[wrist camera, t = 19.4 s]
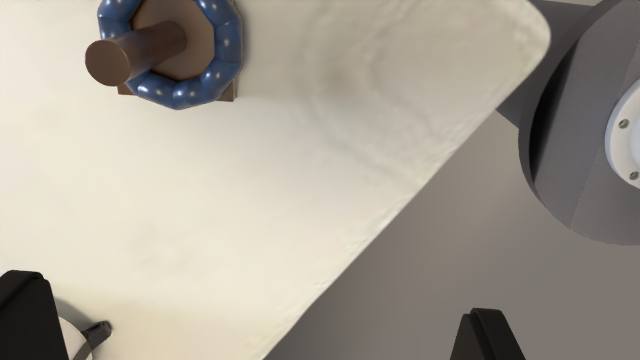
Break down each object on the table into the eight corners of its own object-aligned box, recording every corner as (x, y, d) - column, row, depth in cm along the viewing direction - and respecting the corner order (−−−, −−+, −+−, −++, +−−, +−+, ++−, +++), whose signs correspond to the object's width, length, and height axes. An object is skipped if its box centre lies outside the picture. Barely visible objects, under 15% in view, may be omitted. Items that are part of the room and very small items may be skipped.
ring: (243, -38, 29) (237, -39, 27) (246, 109, 34) (241, 117, 32) (96, -48, 29) (80, -49, 27) (118, 102, 34) (107, 109, 32)
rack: (234, -26, 31) (186, -26, 20) (236, 97, 35) (198, 149, 24) (109, -34, 31) (-2, -39, 20) (126, 89, 35) (40, 139, 24)
